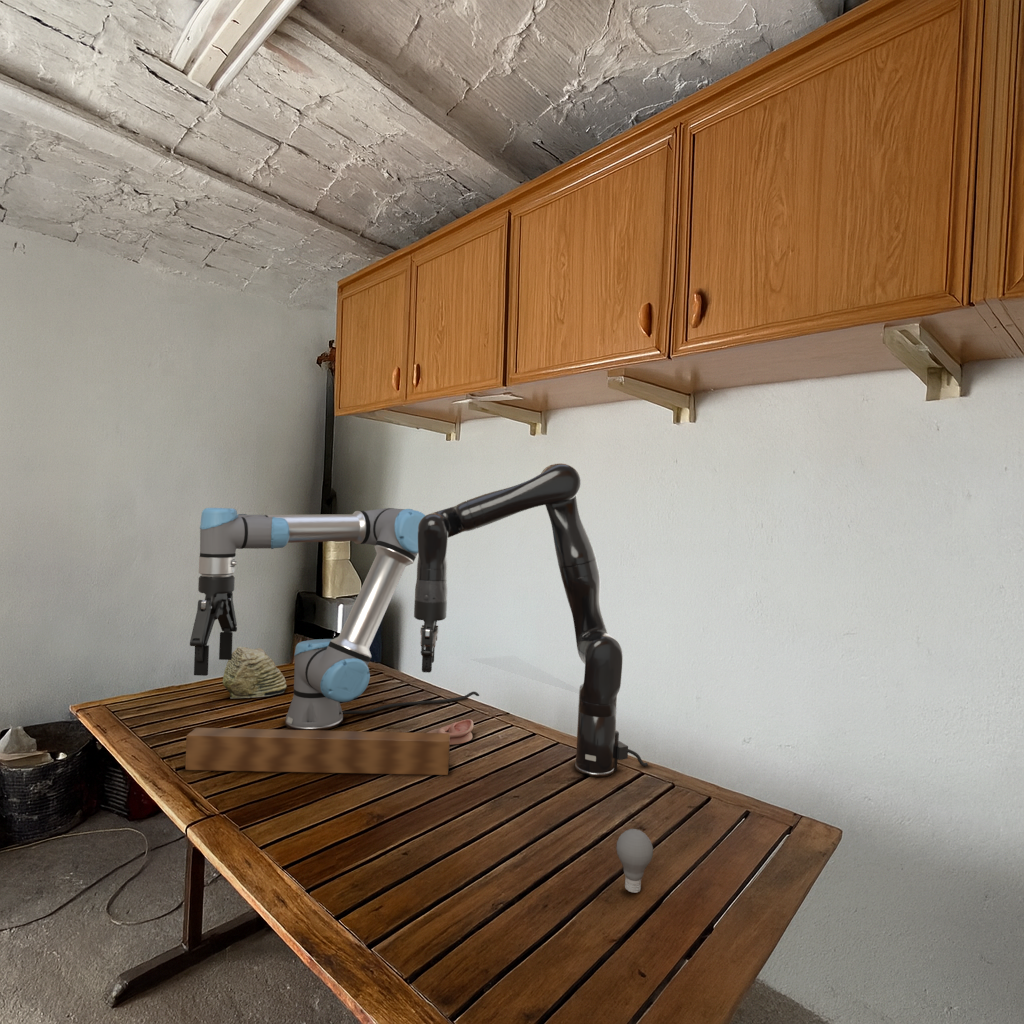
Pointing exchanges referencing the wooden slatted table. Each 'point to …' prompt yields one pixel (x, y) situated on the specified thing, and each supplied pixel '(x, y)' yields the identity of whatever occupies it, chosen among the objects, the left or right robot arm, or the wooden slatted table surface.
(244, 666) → the fossil
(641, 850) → the light bulb
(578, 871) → the wooden slatted table surface
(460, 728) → the anatomical model
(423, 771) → the beam
